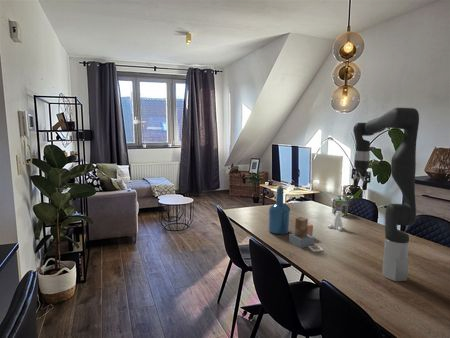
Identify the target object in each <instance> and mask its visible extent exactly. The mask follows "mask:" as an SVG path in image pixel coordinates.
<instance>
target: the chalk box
mask: <svg viewBox="0 0 450 338" xmlns="http://www.w3.org/2000/svg"><path fill="white" fill-rule="evenodd" d="M331 209H332V210H331V212H332V214H333V215H335V213H336V211H340V212H342V214H344V215H343V216H349V215H348V213H349V201H348V200H346V199H345V198H342V197H341V196H340V195H339V194H338V195H337V198H332V208H331ZM343 216H342V217H343Z"/></svg>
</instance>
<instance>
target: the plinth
mask: <svg viewBox="0 0 450 338" xmlns="http://www.w3.org/2000/svg"><path fill="white" fill-rule="evenodd" d="M288 235H289V236H288V238H289V239H288V242H289V243H291V244H293V245H295V247H297V248H299V249H300V248H301V249H302V248H307V247H308V246H315V240H316V239H315V236H313V235H312V236H311V235H309V234H307V236H305V237H304V238H302V237H298V236H295V232H294V233H289V234H288ZM308 248H309V247H308Z"/></svg>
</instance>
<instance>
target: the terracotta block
mask: <svg viewBox="0 0 450 338" xmlns="http://www.w3.org/2000/svg"><path fill="white" fill-rule="evenodd" d="M313 230H314V225H313V224H312V223H310V222H308V226H307V234H309V235H311V236H313V234H314V233H313V232H314V231H313Z"/></svg>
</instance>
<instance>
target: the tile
mask: <svg viewBox="0 0 450 338" xmlns="http://www.w3.org/2000/svg"><path fill="white" fill-rule="evenodd" d="M308 248H309V249H310V251H312V252H314V253H315V252H324V249H323V248H322V247H321V246H320V245H313V246H308Z"/></svg>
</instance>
